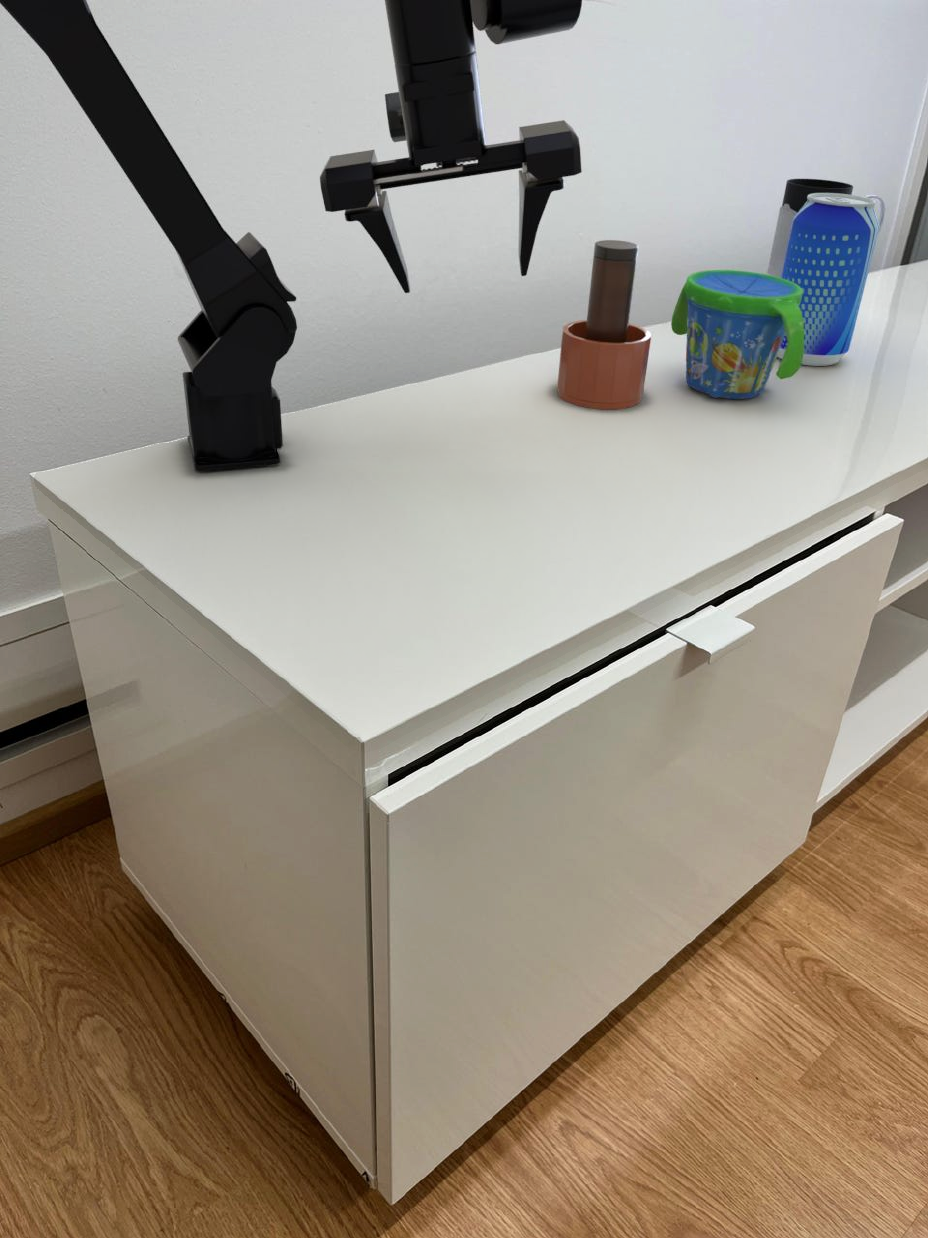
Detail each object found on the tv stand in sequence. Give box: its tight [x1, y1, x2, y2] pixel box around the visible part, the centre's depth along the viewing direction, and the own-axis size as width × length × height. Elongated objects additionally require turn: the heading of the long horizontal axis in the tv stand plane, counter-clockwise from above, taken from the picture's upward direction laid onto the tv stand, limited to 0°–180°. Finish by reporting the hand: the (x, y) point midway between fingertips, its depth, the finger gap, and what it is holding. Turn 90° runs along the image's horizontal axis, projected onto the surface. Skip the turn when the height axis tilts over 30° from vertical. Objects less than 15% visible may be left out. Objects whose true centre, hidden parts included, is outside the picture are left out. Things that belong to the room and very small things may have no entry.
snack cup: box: [670, 269, 804, 400], centre depth 93 cm, size 16×10×10 cm
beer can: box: [777, 193, 879, 367], centre depth 102 cm, size 8×8×16 cm
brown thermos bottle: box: [585, 239, 639, 343], centre depth 89 cm, size 4×4×13 cm
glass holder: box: [766, 178, 887, 278], centre depth 119 cm, size 9×14×15 cm, turn 106°
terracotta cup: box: [556, 319, 652, 410], centre depth 91 cm, size 8×8×6 cm
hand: (465, 282), depth 77 cm, fingers open, 9 cm apart
